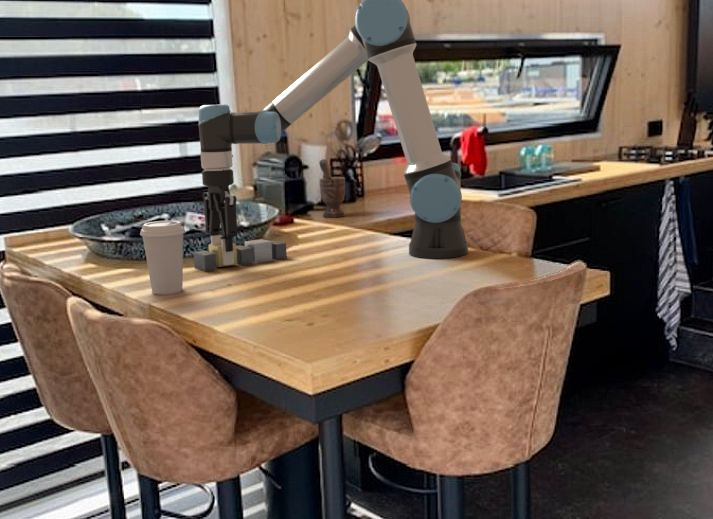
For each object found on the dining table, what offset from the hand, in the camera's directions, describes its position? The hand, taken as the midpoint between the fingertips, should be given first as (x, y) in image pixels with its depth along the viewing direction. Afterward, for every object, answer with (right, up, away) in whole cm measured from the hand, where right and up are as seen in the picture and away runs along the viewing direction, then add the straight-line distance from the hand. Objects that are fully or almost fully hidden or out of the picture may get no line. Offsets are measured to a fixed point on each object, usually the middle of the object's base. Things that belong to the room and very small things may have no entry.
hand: (223, 262), depth 211 cm
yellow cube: (0, 0, 0) cm, 0 cm away
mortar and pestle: (+25, +15, +76) cm, 82 cm away
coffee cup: (-8, -6, -25) cm, 27 cm away
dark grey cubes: (+4, 0, +3) cm, 5 cm away
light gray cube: (+8, 0, +6) cm, 10 cm away
